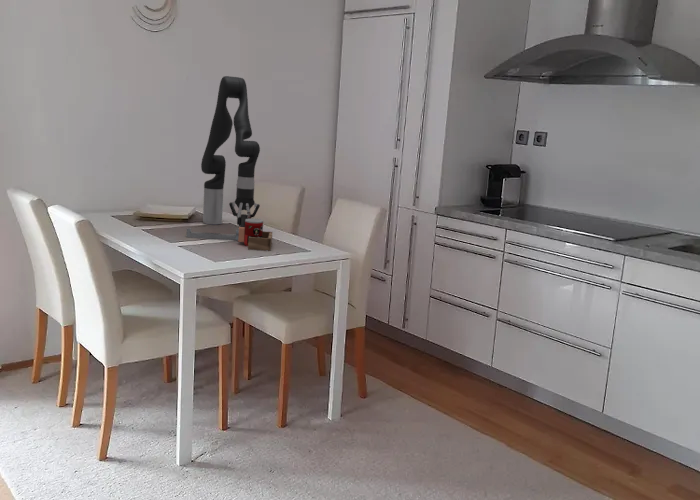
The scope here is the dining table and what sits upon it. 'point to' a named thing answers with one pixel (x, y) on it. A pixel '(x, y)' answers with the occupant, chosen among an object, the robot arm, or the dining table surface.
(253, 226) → the canned food
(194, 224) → the dining table surface
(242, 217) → the grey block with post
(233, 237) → the rail
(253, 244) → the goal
